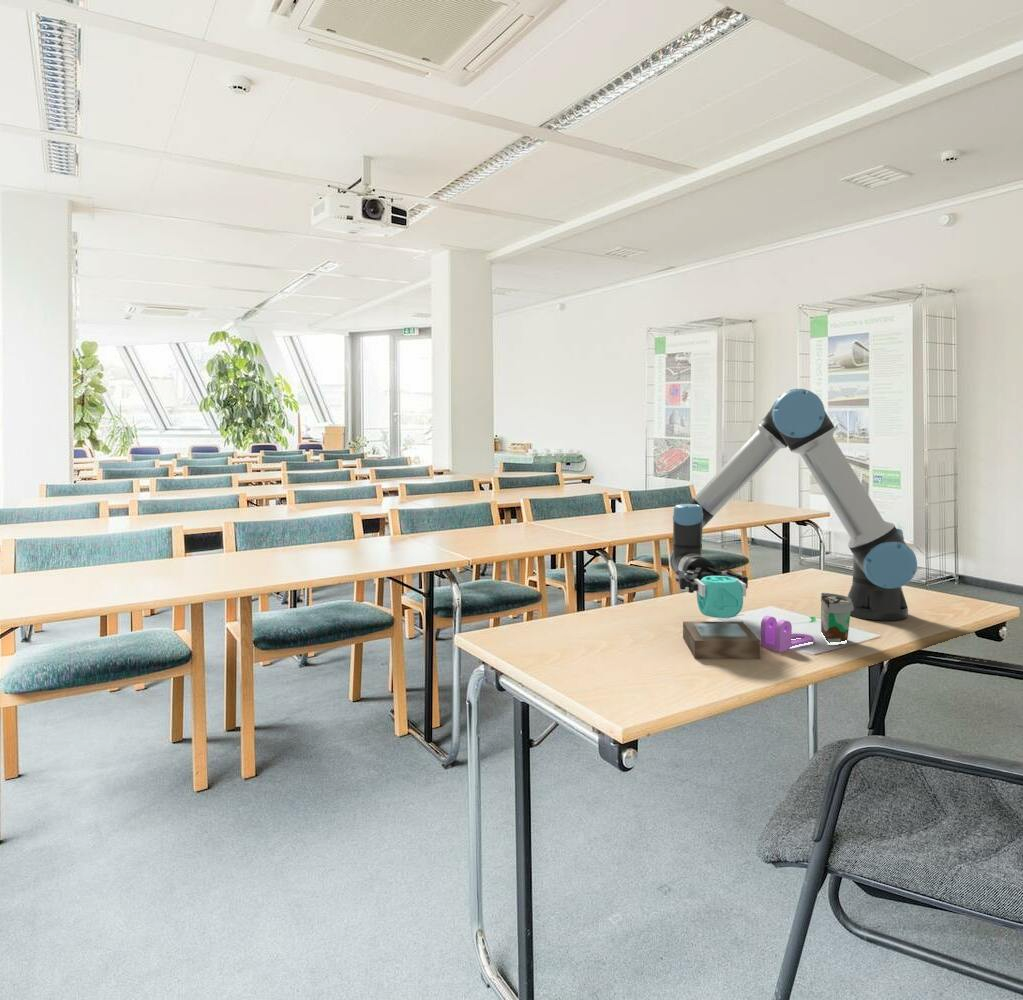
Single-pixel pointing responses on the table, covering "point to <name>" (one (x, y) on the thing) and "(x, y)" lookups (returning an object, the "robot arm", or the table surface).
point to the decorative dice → (721, 597)
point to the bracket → (780, 635)
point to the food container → (835, 616)
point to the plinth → (721, 640)
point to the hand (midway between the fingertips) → (724, 590)
